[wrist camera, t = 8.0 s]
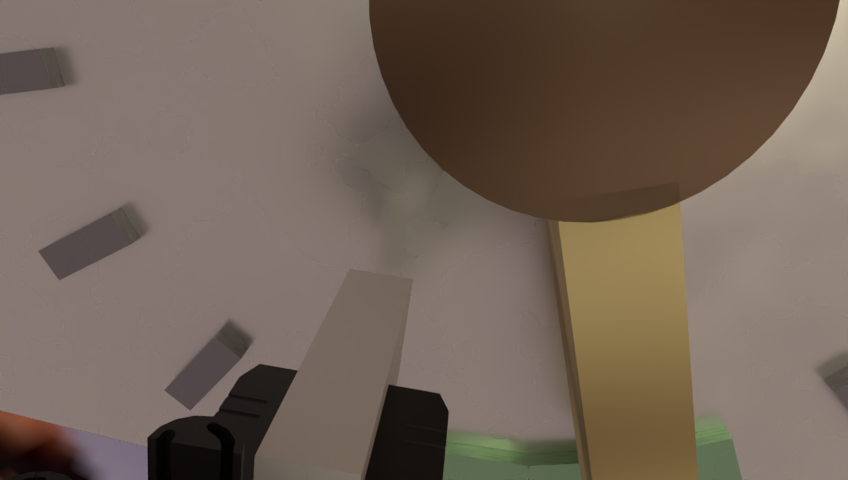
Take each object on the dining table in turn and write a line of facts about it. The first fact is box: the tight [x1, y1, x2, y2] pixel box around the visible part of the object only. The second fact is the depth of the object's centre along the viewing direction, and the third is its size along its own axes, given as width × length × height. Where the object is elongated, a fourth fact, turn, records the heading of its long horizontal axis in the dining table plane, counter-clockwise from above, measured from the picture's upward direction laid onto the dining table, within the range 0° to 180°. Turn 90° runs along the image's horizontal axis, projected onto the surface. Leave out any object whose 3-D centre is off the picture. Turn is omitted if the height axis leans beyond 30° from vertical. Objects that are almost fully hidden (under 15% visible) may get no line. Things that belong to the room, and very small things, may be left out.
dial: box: [369, 0, 840, 480], centre depth 13 cm, size 19×7×4 cm, turn 11°
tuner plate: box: [0, 0, 848, 480], centre depth 15 cm, size 32×32×3 cm
